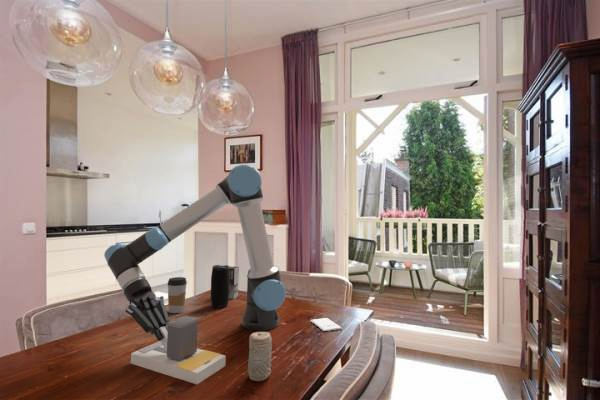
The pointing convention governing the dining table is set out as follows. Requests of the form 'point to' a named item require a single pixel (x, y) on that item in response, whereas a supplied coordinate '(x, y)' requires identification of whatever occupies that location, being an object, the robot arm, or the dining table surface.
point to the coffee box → (233, 282)
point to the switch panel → (179, 363)
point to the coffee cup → (176, 294)
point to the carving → (259, 356)
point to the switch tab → (182, 337)
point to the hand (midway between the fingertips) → (170, 347)
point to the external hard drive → (325, 324)
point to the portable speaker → (220, 286)
